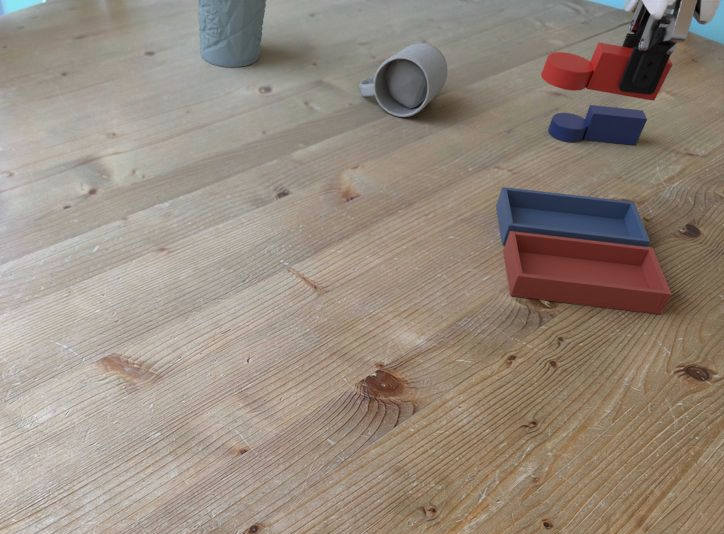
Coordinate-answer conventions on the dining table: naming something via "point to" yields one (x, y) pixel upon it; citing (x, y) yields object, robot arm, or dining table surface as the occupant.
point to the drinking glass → (230, 31)
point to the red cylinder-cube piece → (594, 71)
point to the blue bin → (570, 217)
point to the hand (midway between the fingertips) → (632, 82)
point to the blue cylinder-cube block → (599, 125)
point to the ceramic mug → (407, 80)
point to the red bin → (585, 272)
